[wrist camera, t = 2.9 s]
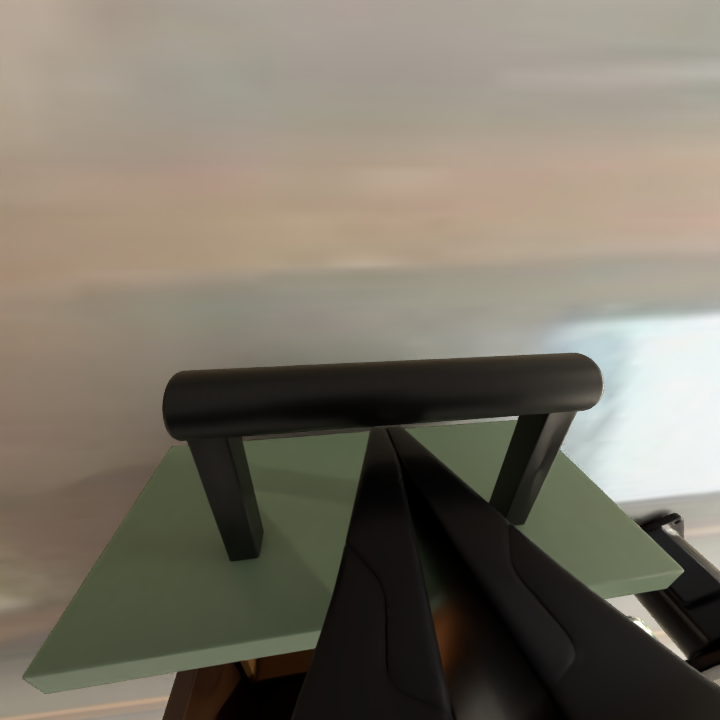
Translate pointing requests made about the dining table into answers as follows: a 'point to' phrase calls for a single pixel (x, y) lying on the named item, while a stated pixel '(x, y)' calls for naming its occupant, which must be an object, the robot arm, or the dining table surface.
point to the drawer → (324, 508)
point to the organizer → (232, 695)
